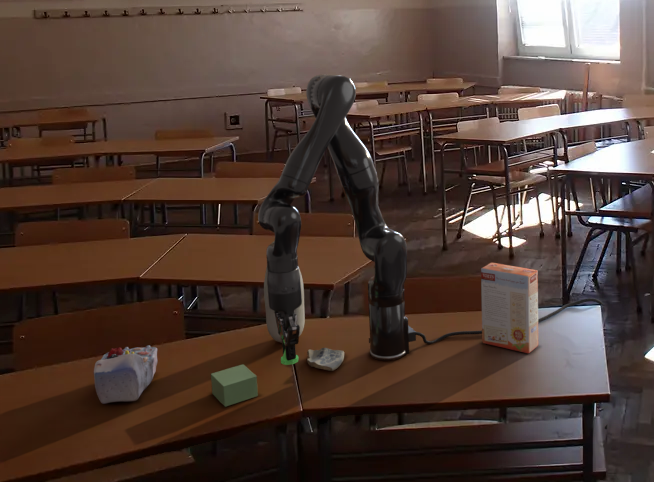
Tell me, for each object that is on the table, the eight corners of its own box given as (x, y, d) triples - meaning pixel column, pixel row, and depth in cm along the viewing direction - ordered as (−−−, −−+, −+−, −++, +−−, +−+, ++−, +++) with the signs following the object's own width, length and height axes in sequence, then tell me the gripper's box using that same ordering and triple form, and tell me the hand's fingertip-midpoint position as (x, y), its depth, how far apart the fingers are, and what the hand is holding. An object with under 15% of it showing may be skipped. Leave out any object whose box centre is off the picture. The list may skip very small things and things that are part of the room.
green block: (244, 383, 200) (243, 364, 199) (258, 396, 193) (256, 376, 193) (212, 393, 195) (210, 373, 194) (225, 406, 189) (223, 386, 188)
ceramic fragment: (309, 346, 216) (346, 343, 214) (311, 358, 216) (348, 355, 214) (294, 364, 205) (332, 362, 203) (296, 376, 206) (334, 374, 204)
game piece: (301, 361, 194) (300, 337, 193) (284, 366, 192) (282, 342, 191) (295, 355, 198) (293, 331, 197) (277, 359, 196) (275, 336, 195)
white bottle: (272, 332, 229) (266, 235, 224) (309, 332, 229) (304, 234, 224) (263, 348, 219) (256, 246, 215) (301, 348, 219) (295, 245, 214)
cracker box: (539, 346, 217) (538, 269, 213) (528, 354, 212) (528, 276, 208) (492, 335, 224) (491, 260, 221) (481, 343, 219) (480, 267, 216)
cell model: (87, 367, 186) (101, 333, 205) (91, 412, 188) (105, 374, 207) (148, 358, 189) (156, 326, 208) (152, 403, 191) (160, 367, 210)
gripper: (308, 293, 187) (313, 364, 190) (291, 274, 200) (296, 342, 203) (276, 299, 184) (281, 372, 187) (260, 280, 196) (266, 349, 199)
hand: (289, 356), depth 195 cm, fingers closed on game piece, 2 cm apart
